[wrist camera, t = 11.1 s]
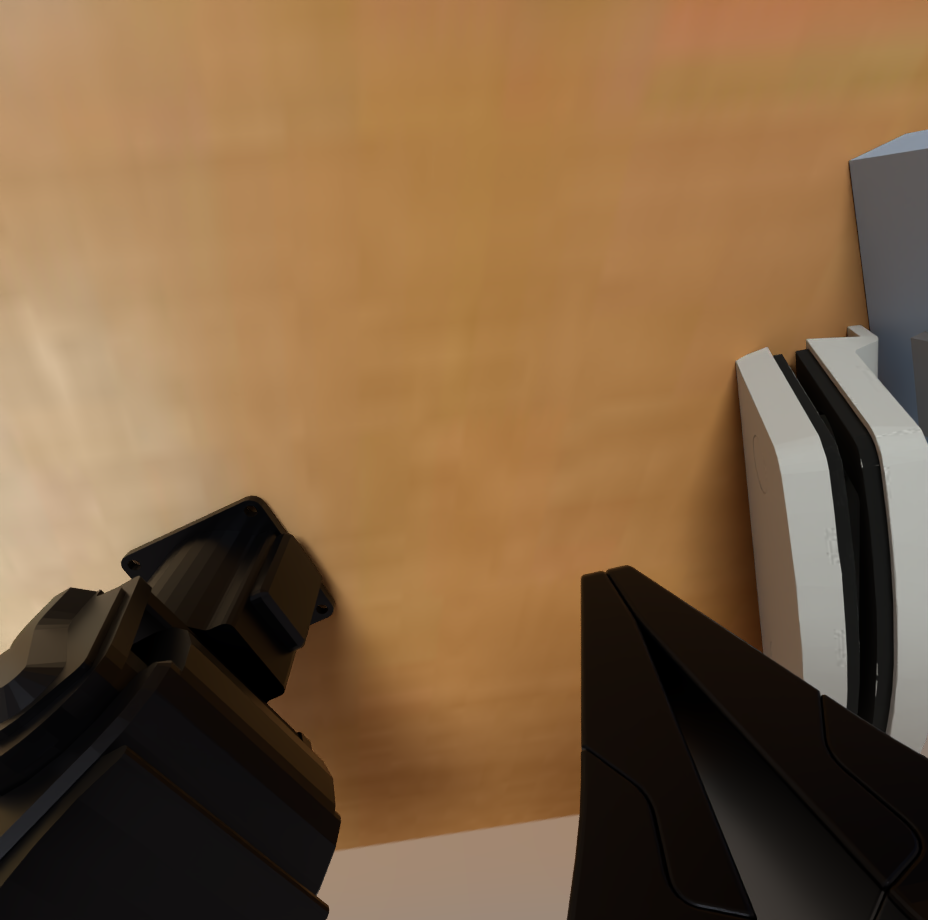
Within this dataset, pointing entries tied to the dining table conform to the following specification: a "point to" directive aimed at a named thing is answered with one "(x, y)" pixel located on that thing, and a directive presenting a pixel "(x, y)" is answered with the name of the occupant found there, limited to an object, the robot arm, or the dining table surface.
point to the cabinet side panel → (897, 263)
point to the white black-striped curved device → (840, 528)
